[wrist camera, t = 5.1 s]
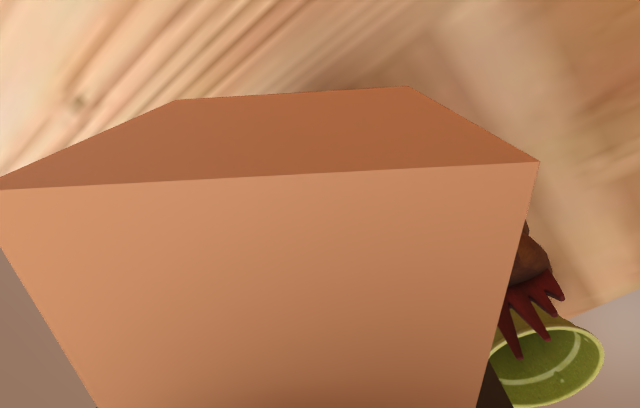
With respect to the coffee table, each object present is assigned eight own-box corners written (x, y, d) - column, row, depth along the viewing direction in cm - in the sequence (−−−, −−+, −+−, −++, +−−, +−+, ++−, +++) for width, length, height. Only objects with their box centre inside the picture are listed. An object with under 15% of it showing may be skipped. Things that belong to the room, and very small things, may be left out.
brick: (408, 85, 9) (540, 161, 4) (389, 385, 15) (428, 584, 9) (175, 99, 9) (-33, 191, 4) (248, 390, 15) (207, 588, 10)
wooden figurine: (407, 231, 30) (479, 391, 16) (408, 171, 27) (493, 304, 14) (484, 223, 29) (621, 381, 16) (492, 163, 27) (664, 291, 13)
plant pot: (451, 253, 31) (494, 326, 23) (551, 255, 31) (627, 329, 23) (433, 325, 35) (464, 407, 27) (520, 327, 35) (576, 409, 27)
